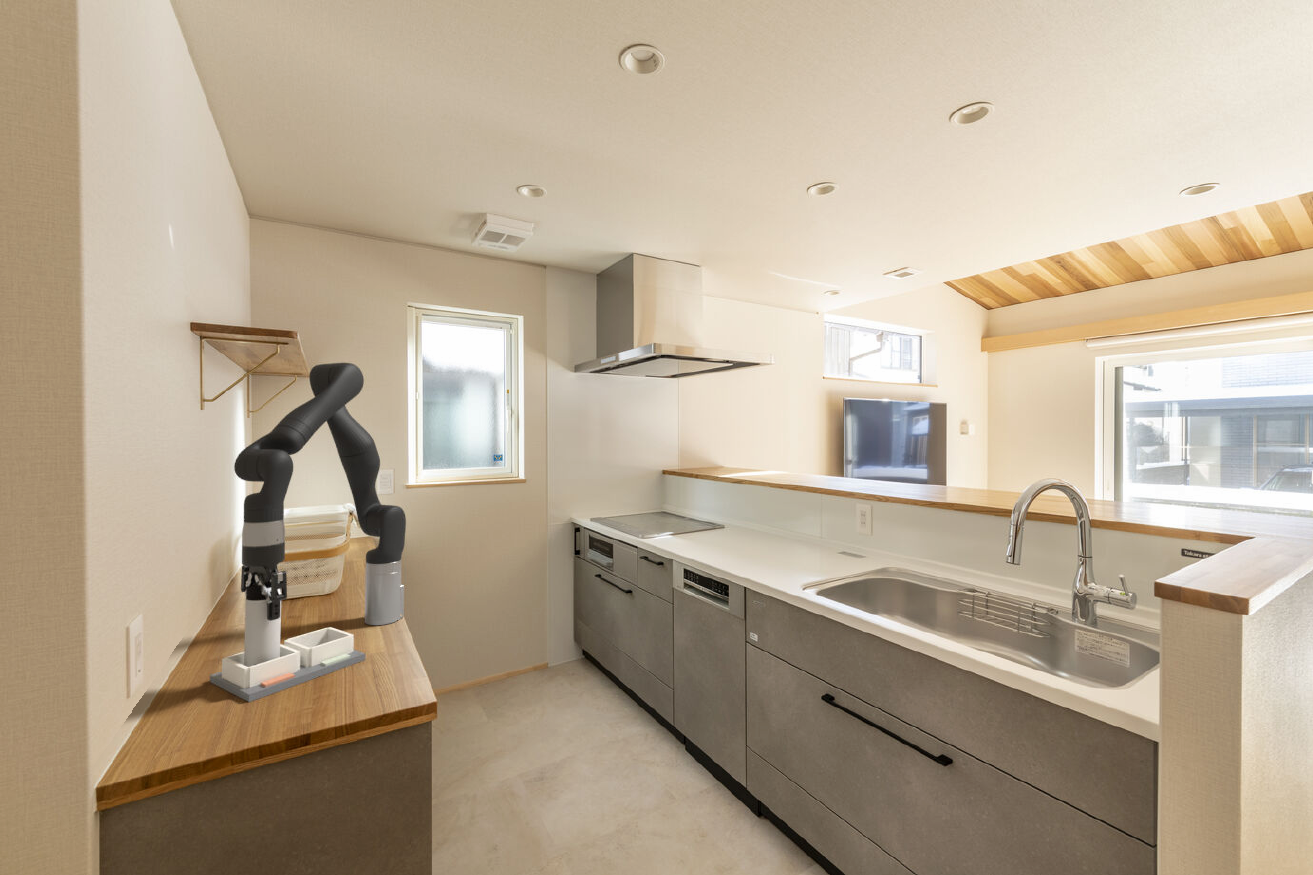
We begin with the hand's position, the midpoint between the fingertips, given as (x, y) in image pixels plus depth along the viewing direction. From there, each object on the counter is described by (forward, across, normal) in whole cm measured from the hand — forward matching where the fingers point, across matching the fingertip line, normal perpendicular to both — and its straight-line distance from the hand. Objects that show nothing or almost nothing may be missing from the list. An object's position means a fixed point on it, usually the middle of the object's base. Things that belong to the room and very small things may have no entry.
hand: (263, 615), depth 117 cm
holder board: (+14, 0, -6) cm, 15 cm away
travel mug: (+13, 0, 0) cm, 13 cm away
